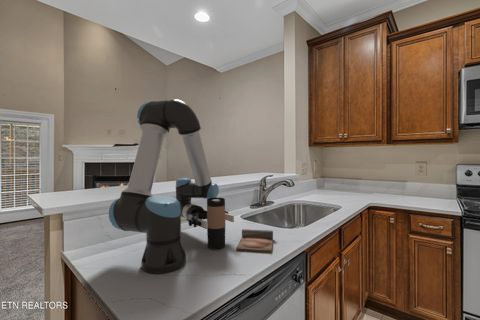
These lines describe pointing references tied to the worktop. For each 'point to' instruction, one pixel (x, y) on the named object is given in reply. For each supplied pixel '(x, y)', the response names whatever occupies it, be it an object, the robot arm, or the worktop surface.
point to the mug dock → (256, 241)
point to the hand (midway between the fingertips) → (220, 222)
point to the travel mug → (216, 223)
